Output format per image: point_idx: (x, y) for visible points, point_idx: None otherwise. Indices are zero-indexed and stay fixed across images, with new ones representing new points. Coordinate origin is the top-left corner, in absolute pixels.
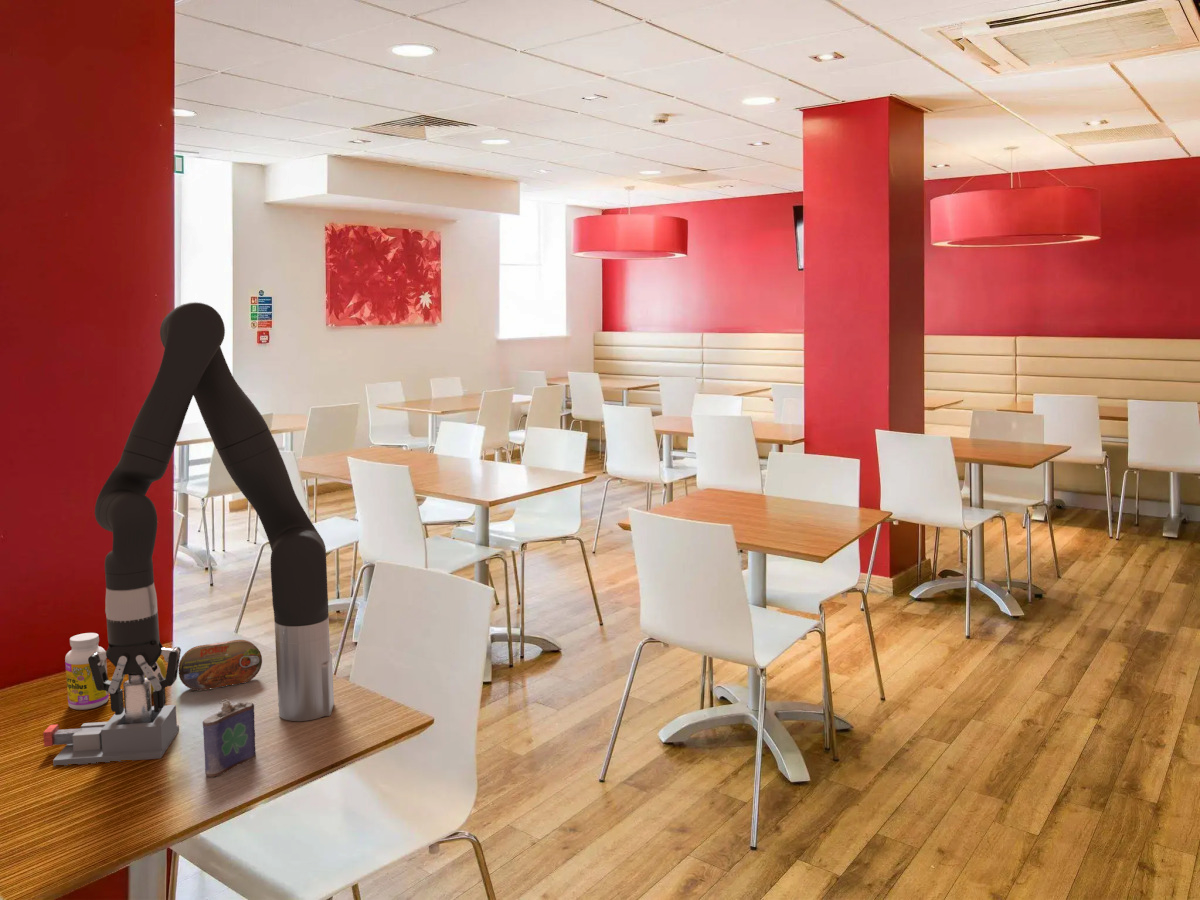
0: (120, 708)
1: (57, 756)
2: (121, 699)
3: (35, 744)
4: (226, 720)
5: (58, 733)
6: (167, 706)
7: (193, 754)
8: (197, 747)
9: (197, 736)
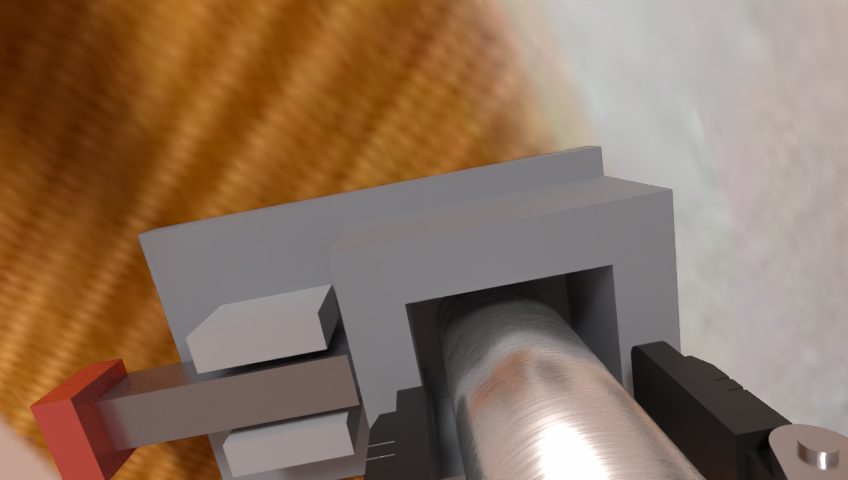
0: (437, 458)
1: (225, 472)
2: (435, 469)
3: (5, 302)
4: None
5: (134, 441)
6: (628, 218)
7: (725, 373)
8: (723, 314)
9: (693, 209)
